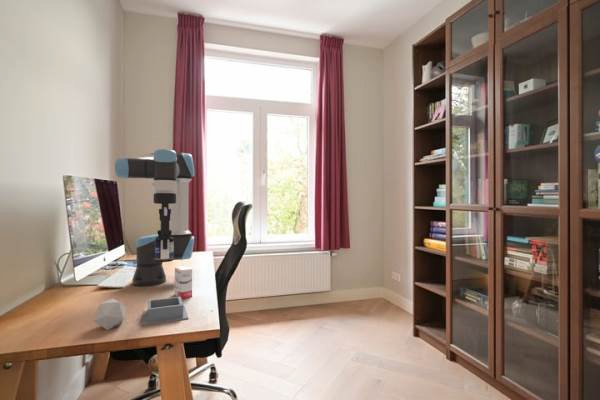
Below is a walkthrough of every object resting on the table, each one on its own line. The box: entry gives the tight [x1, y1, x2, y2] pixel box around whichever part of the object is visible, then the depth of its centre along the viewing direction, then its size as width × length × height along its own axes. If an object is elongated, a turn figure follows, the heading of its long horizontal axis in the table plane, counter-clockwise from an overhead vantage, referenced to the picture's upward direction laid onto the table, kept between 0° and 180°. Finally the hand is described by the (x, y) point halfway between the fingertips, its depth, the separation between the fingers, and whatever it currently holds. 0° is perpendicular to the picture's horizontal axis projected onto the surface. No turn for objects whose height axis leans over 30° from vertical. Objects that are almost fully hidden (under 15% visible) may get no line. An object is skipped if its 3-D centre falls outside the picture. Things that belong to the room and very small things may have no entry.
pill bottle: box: [155, 229, 174, 263], centre depth 114 cm, size 6×6×11 cm
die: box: [92, 298, 128, 331], centre depth 101 cm, size 8×9×10 cm
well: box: [141, 296, 189, 326], centre depth 111 cm, size 14×14×4 cm
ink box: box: [173, 265, 193, 299], centre depth 135 cm, size 8×5×12 cm, turn 39°
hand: (164, 257), depth 114 cm, fingers closed on pill bottle, 6 cm apart
